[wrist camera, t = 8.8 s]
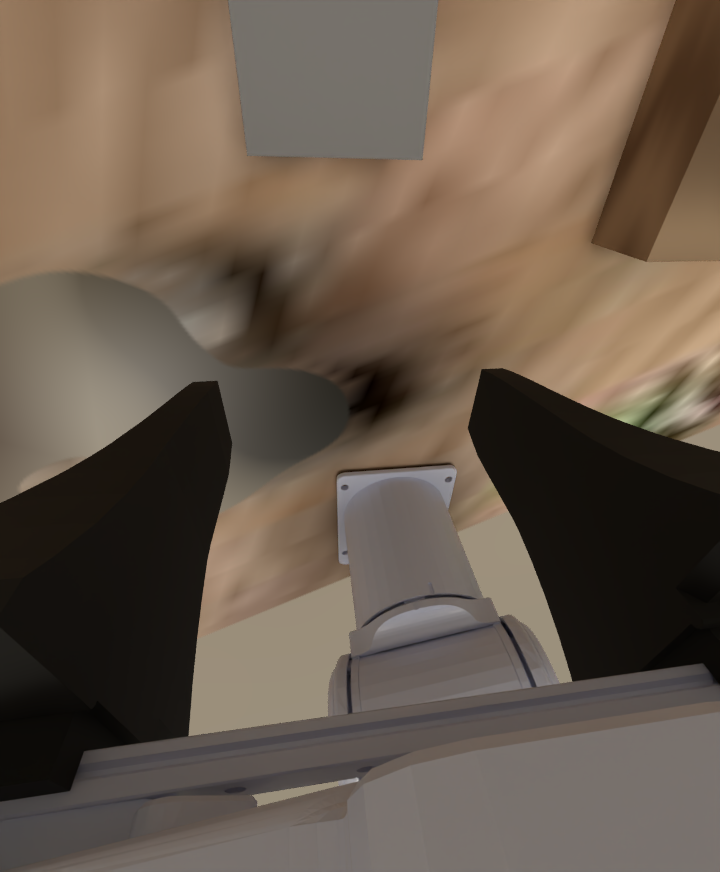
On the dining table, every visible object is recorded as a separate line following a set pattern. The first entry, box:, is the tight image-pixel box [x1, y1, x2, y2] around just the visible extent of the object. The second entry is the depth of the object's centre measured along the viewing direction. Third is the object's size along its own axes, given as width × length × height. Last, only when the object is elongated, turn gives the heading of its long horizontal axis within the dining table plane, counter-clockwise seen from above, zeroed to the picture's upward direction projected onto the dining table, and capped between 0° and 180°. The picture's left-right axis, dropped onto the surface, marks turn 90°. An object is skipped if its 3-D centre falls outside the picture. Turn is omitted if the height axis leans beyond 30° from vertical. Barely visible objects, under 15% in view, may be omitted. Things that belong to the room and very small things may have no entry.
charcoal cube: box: [228, 0, 438, 160], centre depth 11 cm, size 5×5×5 cm
